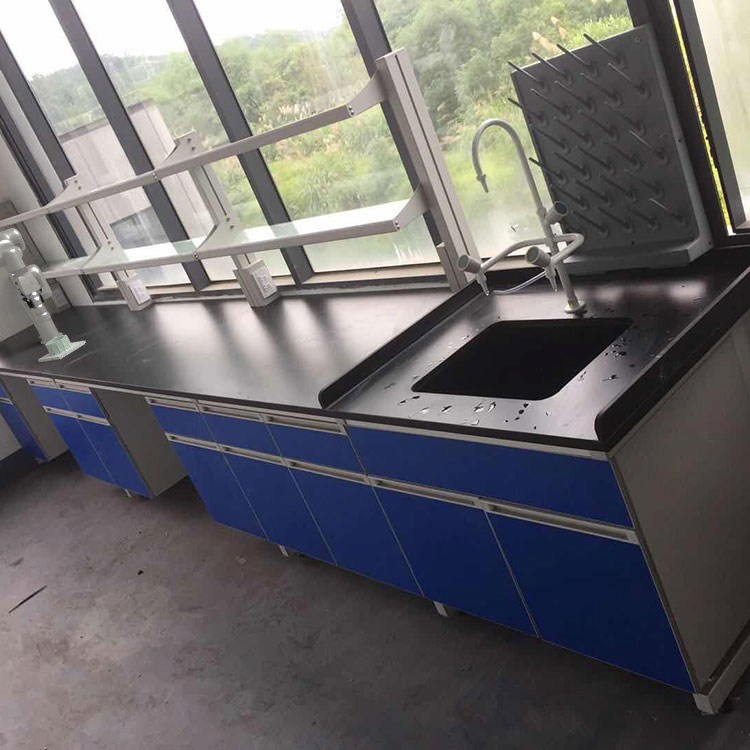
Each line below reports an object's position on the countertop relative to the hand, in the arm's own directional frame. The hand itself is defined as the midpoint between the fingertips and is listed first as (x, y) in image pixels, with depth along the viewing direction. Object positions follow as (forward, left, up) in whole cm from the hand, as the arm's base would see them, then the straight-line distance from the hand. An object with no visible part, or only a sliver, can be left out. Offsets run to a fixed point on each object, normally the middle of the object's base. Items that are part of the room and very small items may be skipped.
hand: (37, 304), depth 406 cm
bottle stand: (0, 0, -27) cm, 27 cm away
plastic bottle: (0, 0, -10) cm, 10 cm away
